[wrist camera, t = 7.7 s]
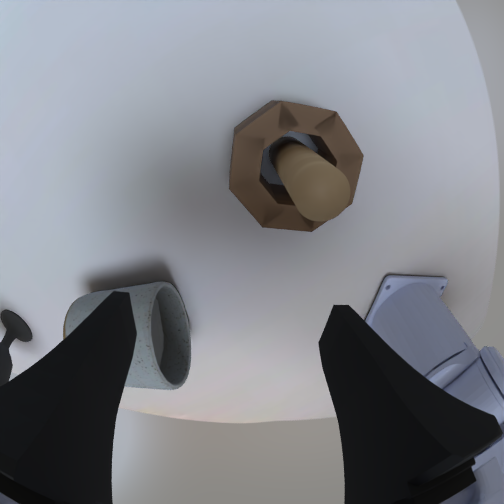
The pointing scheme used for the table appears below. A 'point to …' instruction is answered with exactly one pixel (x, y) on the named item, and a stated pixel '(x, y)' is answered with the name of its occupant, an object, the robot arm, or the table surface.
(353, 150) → the bead
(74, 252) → the table surface
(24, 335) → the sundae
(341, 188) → the dowel
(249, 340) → the table surface
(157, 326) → the ceramic mug
